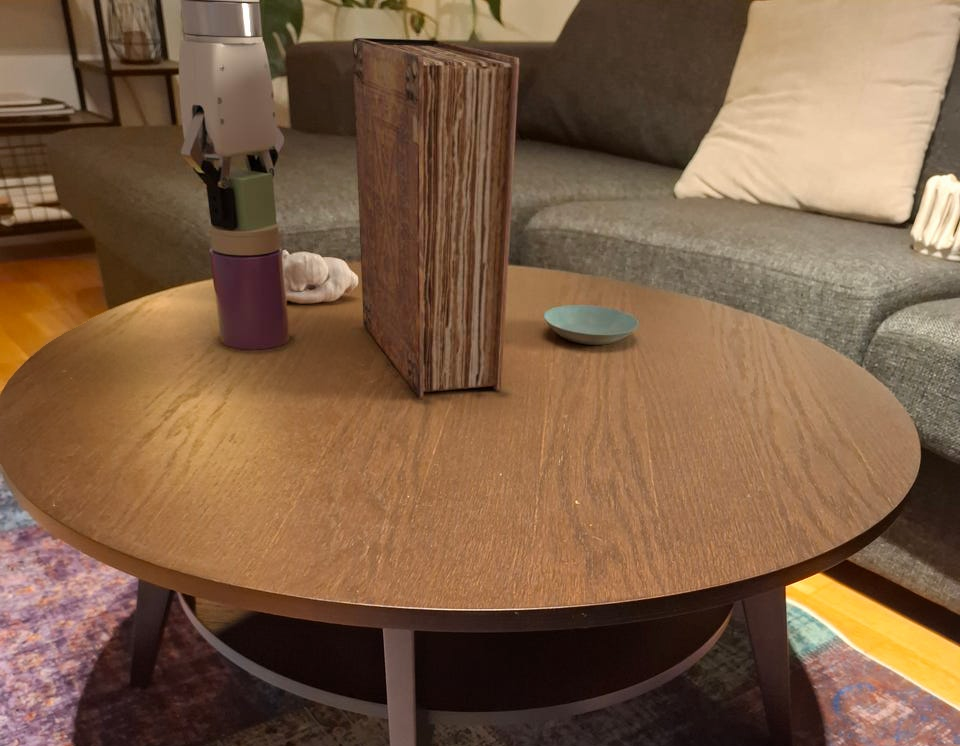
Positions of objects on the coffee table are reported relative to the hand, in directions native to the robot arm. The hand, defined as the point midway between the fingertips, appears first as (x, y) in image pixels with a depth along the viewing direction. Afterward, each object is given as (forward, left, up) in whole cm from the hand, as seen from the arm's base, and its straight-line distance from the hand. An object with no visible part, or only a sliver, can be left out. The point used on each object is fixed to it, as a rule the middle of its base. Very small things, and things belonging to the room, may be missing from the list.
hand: (243, 220), depth 99 cm
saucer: (+33, +24, -13) cm, 43 cm away
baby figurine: (-5, +17, -13) cm, 22 cm away
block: (0, 0, 0) cm, 0 cm away
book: (+20, +6, -13) cm, 25 cm away
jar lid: (0, 0, -1) cm, 1 cm away
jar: (0, 0, -13) cm, 13 cm away
